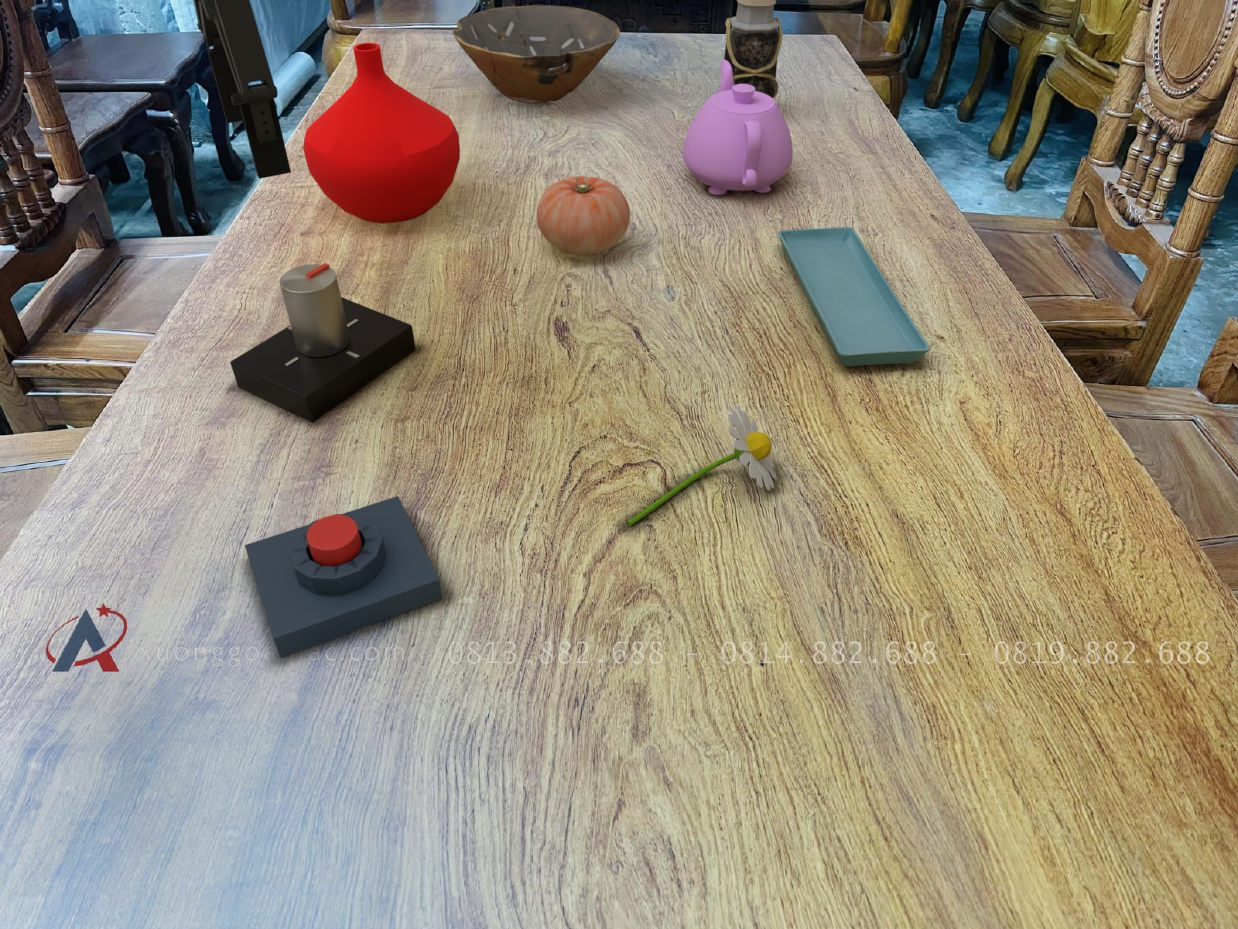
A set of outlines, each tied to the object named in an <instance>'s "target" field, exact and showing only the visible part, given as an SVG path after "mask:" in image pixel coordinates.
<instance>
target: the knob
mask: <svg viewBox="0 0 1238 929" xmlns="http://www.w3.org/2000/svg"><path fill="white" fill-rule="evenodd" d="M337 276H338V275H337V272H336V271H335V269H333V268H332V267H330V264H329V263H326V262H324V263H322V264H318V263H317V264H314V263H313V264H312V263H311V264H303V265H299V266H295V267H293V268H291V269H289V270H287V271H286V272H284V273H283V274H282V275H281V276H280V278H279V286H280V290H281V295H282V298H283V302H284V305H285V310H286V314H287V317H288V321H289V326H290V325H291V329H292V333H293V336H294V340H295V344H296V348H297V350H298V351H299V352H300V353H302V354H303V355H306V356H310V357H325V356H330V355H333V354H336V353H338V352H340V351H342V350H343V349H344V348H345V347H346V346H347V345H348V344H349V341H350V337H349V332H348V327H347V323H346V318H345V313H344V309H343V304H342V299H341V297H342V295H341V290H340V286H339V282H338V277H337Z"/></svg>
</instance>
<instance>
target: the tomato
mask: <svg viewBox="0 0 1238 929" xmlns="http://www.w3.org/2000/svg"><path fill="white" fill-rule="evenodd" d="M630 220H631V210H630V206H629V203H628V200H627V198H626V196H625V194H624V193H623V191H622V190H621V189H620V188H619V187H618V186H616V185H614V184H613V183H611V182H610V181H608V180H605V179H603V178H600V177H596V176H585V175H579V176H570V177H568V178H564V179H561V180H558V181H556V182H555V183H552V184H551V185H550V186H549V187H548V188H546V190H544V192H543V193H542V195H541V197H540V198H539V200H538V204H537V206H536V223H537V226H538V229H539V231H540V233H541V235H542V236H543V238H544V239H545V240H547V242H548V243H549V244H550V245H551V246H553V247H555V248H556V249H558V250H559V251H562V252H565V253H568V254H572V255H580V256H582V255H583V256H587V255H596V254H598V253H601V252H605V251H607V250H608V249H611V248H613V247H614V246H615V245H617V244H618V243H619V242H620V241H621V240H622V238H623V237H624V235H625V234H626V232H627V231H628V227H629V225H630Z"/></svg>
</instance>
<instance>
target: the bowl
mask: <svg viewBox="0 0 1238 929" xmlns="http://www.w3.org/2000/svg"><path fill="white" fill-rule="evenodd" d="M456 27H457V29H455V28H452V35H453V37H454V39H455V40H456V42H457V44H458V46H460V48H461V49H462V50H463V51H464V53H465V54H466V55H467V56H468V57H469V58H470V59H471V61H472V62H473V63H474V65H475V66H476V67H477V68H478V69H479V71H480V72H481V73H482V74H483V75H484V76H485V78H486V79H487V80H488V81H489V82H490V84H491V85H492V86H493V87H495V89H496V90H497V91H498V92H499V93H500V94H502V95H503V96H504V97H506V98H507V99H510V100H511V101H514V102H518V103H523V104H531V105H532V104H535V105H537V104H539V105H540V104H544V103H545V104H547V103H549V102H556V101H559V100H562V99H563V98H565V97H566V96H568V95H569V94H570V93H573V92H574V91H575V90H577V89H578V87H580V85H581V84H582V83H583V82H584V81H585V80H586V79H587V78H588V77H589V75H591V73H592V72H593V71H594V70H595V68H596V67H597V66H598V64H599V63H600V62H601V61H602V59H603V58H604V57H605V56H606V55H607V54H608V53H609V51H611V49H612V48H613V47H614V46H615V44H616V42H617V41H618V39H619V38H620V35H621V30H620V28H619V26H618V25H617V23H616V22H615V21H614V20H611V19H610V18H608V17H607V16H605V15H602V14H600V13H598V12H595V11H592V10H589V9H584V8H579V7H574V6H573V7H572V6H567V5H566V6H565V5H548V4H547V5H545V4H543V5H542V4H541V5H539V4H538V5H537V4H535V5H520V6H519V5H518V6H514V5H513V6H502V7H501V6H500V7H494V8H488V9H485V10H482V11H478V12H475V13H472V14H468V15H466V16H463V17H462V18H460V19H458V20H457V21H456Z"/></svg>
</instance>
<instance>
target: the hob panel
mask: <svg viewBox="0 0 1238 929" xmlns="http://www.w3.org/2000/svg"><path fill="white" fill-rule="evenodd" d="M341 299H342V304H343V309H344V313H345V318H346V323H347V327H348V332H349V337H350V341H349V344H348V345H347V346H346V347H345V348H344V349H343V350H342V351H340V352H338V353H336V354H333V355H330V356H325V357H310V356H306V355H303V354H302V353H300V352H299V351H298V350H297V348H296V344H295V340H294V336H293V333H292V329H291V325H290V324H289V325H288V326H286V327H285V328H283V329H281V330H280V331H278V332H276V333H275V334H273V335H272V336H270V337H268V338H267V339H265V340H263V341H261V343H260V342H259V344H257V345H256V346H254V347H252V348H250V349H248V350H247V351H245V352H243V353H242V354H240V355H238V356H237V357H235V358H234V359H231V360H230V361H229V363H230V366H231V370H232V373H233V376H234V379H235V383H236V385H237V388H238V389H240V390H243V391H245V392H247V393H249V394H251V395H253V396H255V397H258V398H259V399H262V400H264V401H266V402H268V403H270V404H272V405H275V406H276V407H278V408H280V409H282V410H285V411H286V412H289V413H290V414H293V415H294V416H297V417H299V418H300V419H303V420H305V421H307V422H309V423H311V424H314V423H315V422H317V420H319V419H320V418H322V417H323V416H325V415H326V414H328V413H329V412H331V411H332V410H333V409H335V408H336V407H338V406H339V405H341V404H342V403H343V402H345V401H346V400H348V399H349V398H351V396H353V395H354V394H356V393H357V392H359V391H361V390H362V389H363V388H364V387H366V386H367V385H369V384H370V383H371V382H373V381H375V380H376V379H378V378H379V377H380V376H382V374H384V373H386V372H388V371H389V370H390V369H391V368H393V367H394V366H396V365H397V364H398V363H400V362H401V361H403V360H404V359H405V358H406V357H408V356H410V355H411V354H413V353H414V352H415V351H416V350H417V348H416V342H415V336H414V330H413V329H414V328H413V325H412V324H410V323H408V322H405V321H402V320H401V319H397V318H395V317H393V316H390V315H388V314H385V313H383V312H380V311H378V310H376V309H372V308H370V307H367V306H365V305H363V304H361V303H358V302H356V301H352V300H350V299H347V298H346V297H342V296H341Z"/></svg>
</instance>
